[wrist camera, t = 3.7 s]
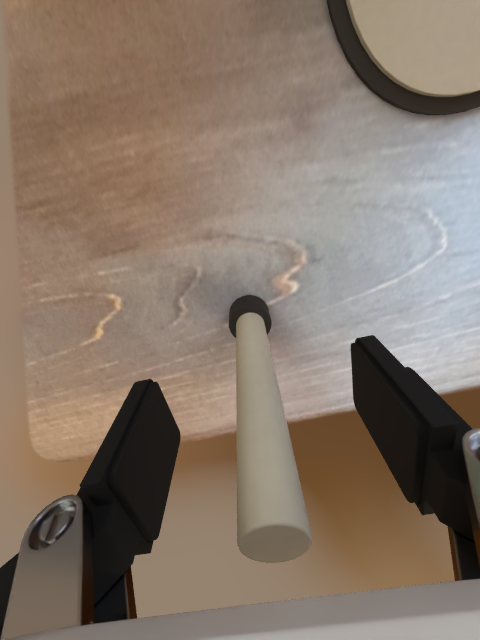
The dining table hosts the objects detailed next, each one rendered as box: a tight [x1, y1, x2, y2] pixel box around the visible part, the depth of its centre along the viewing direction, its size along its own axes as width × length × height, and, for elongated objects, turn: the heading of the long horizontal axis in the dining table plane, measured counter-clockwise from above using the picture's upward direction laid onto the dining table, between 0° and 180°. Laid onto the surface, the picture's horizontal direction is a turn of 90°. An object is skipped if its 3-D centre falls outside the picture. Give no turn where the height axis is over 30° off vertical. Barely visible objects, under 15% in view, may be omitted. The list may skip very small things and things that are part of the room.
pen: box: [229, 295, 312, 563], centre depth 11 cm, size 2×2×12 cm
